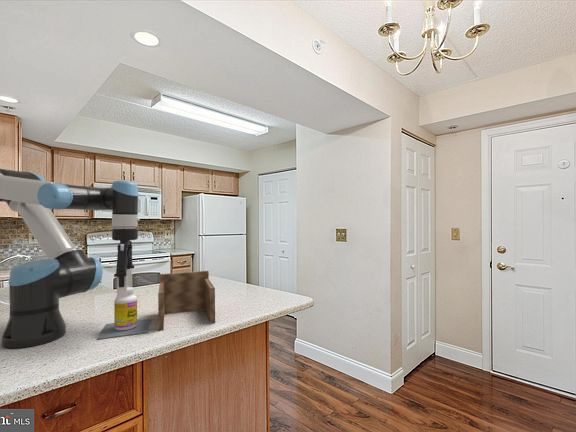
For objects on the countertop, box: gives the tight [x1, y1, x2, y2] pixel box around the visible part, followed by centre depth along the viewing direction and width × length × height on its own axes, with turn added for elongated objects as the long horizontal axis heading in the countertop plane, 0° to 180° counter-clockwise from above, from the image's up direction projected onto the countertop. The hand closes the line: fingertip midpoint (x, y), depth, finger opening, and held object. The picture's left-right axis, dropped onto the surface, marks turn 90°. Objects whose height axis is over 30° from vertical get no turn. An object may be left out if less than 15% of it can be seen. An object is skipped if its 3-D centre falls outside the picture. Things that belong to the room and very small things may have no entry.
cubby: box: [157, 270, 216, 331], centre depth 111 cm, size 18×20×15 cm
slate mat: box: [96, 318, 152, 341], centre depth 101 cm, size 14×14×1 cm
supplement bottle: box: [113, 286, 138, 331], centre depth 101 cm, size 7×7×13 cm
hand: (124, 292), depth 101 cm, fingers open, 13 cm apart
